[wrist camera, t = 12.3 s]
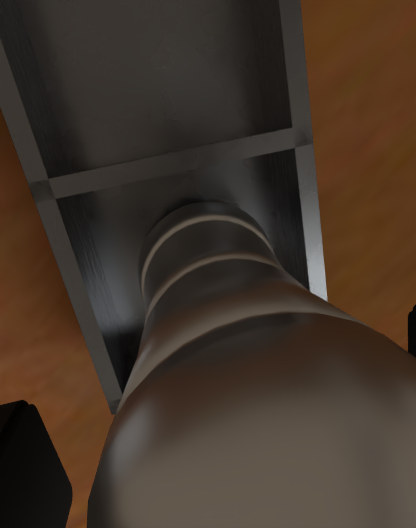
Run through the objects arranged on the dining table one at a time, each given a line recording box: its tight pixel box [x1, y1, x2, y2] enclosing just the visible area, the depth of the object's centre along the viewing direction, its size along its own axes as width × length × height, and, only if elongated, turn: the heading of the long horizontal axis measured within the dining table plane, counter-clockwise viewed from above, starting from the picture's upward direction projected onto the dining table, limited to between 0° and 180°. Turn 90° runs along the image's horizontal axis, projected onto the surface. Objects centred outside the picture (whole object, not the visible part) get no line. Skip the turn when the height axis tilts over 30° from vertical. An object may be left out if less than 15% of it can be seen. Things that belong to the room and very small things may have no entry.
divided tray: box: [0, 0, 327, 414], centre depth 17 cm, size 22×12×5 cm, turn 11°
